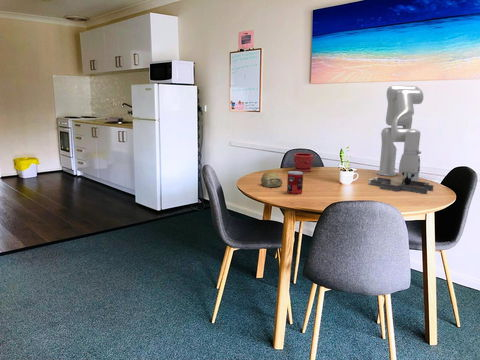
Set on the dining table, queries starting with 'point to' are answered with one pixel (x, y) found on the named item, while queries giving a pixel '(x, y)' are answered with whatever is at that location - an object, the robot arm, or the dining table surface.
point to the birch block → (397, 181)
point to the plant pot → (303, 161)
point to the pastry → (271, 180)
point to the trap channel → (401, 185)
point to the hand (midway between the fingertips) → (407, 185)
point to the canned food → (295, 182)
